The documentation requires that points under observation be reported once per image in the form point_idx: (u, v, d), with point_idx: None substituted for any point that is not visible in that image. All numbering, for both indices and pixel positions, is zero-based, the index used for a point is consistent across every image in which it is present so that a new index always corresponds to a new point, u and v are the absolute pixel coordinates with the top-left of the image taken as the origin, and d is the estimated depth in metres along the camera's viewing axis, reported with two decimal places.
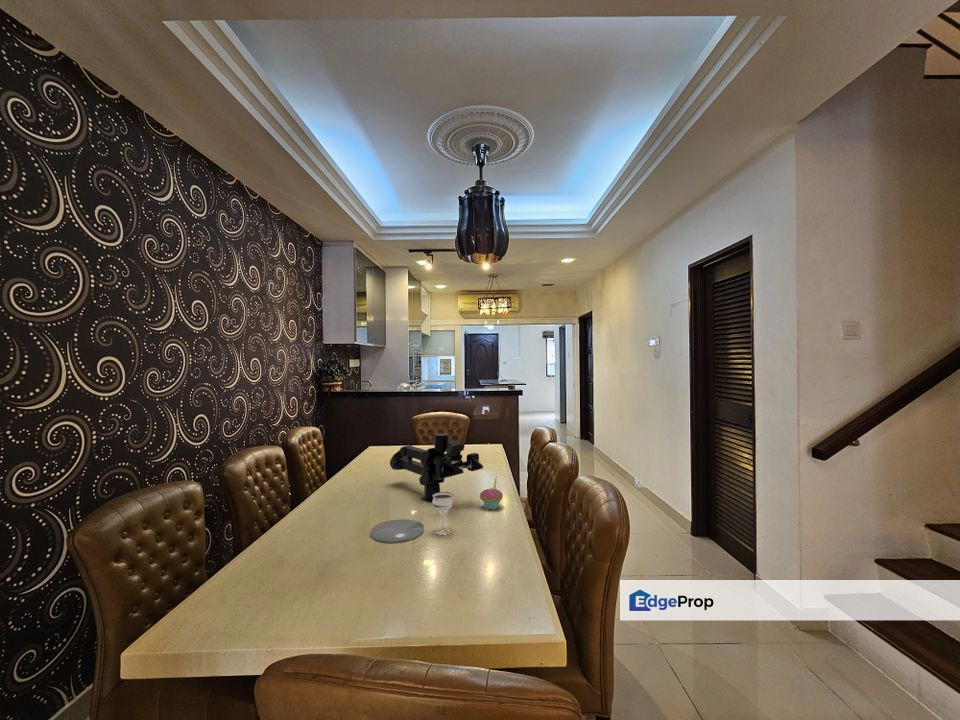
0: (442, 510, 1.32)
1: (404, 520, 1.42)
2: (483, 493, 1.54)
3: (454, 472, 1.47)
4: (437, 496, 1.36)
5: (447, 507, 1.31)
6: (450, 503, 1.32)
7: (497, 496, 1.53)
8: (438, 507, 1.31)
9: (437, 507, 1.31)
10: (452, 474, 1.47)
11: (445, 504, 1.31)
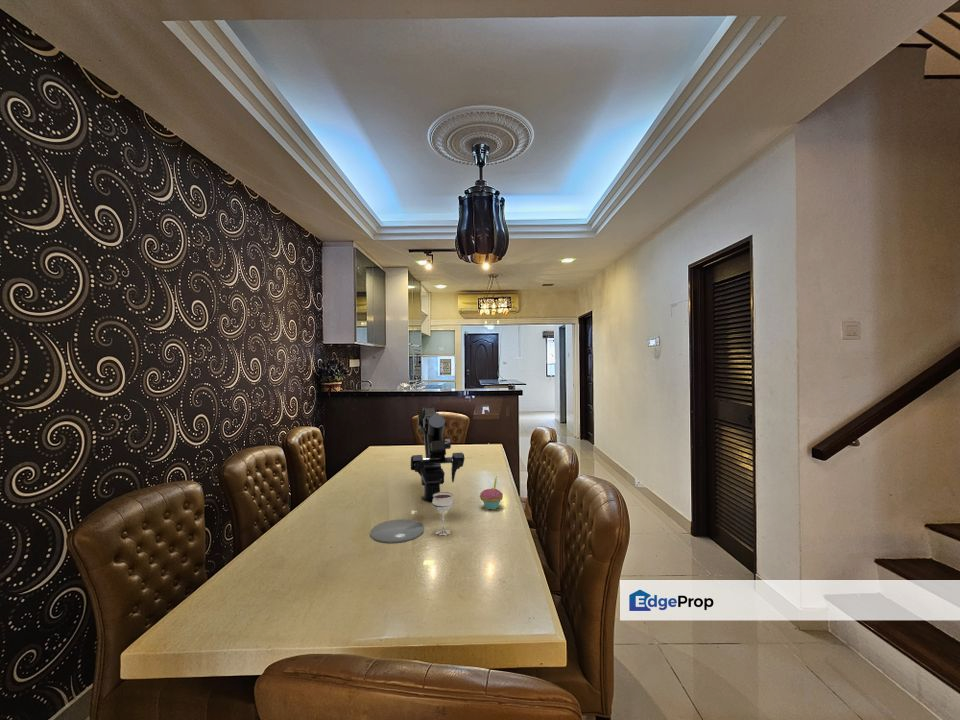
0: (442, 510, 1.32)
1: (404, 520, 1.42)
2: (483, 493, 1.54)
3: (422, 476, 1.44)
4: (437, 496, 1.36)
5: (447, 507, 1.31)
6: (450, 503, 1.32)
7: (497, 496, 1.53)
8: (438, 507, 1.31)
9: (437, 507, 1.31)
10: (420, 475, 1.45)
11: (445, 504, 1.31)
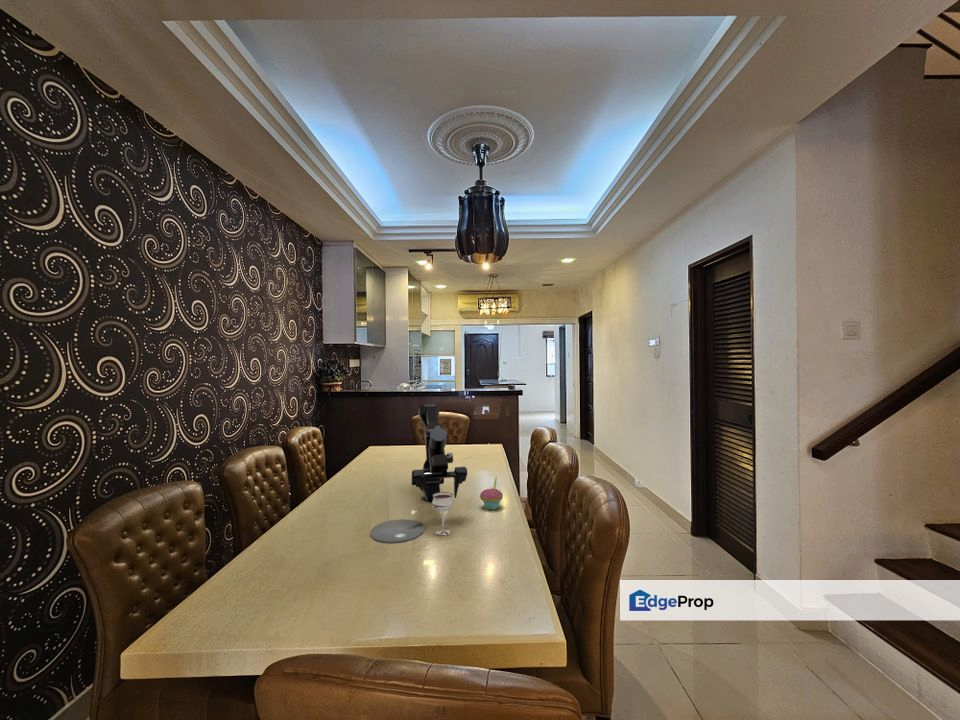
0: (442, 510, 1.32)
1: (404, 520, 1.42)
2: (483, 493, 1.54)
3: (423, 491, 1.38)
4: (437, 496, 1.36)
5: (447, 507, 1.31)
6: (450, 503, 1.32)
7: (497, 496, 1.53)
8: (438, 507, 1.31)
9: (437, 507, 1.31)
10: (422, 490, 1.39)
11: (445, 504, 1.31)
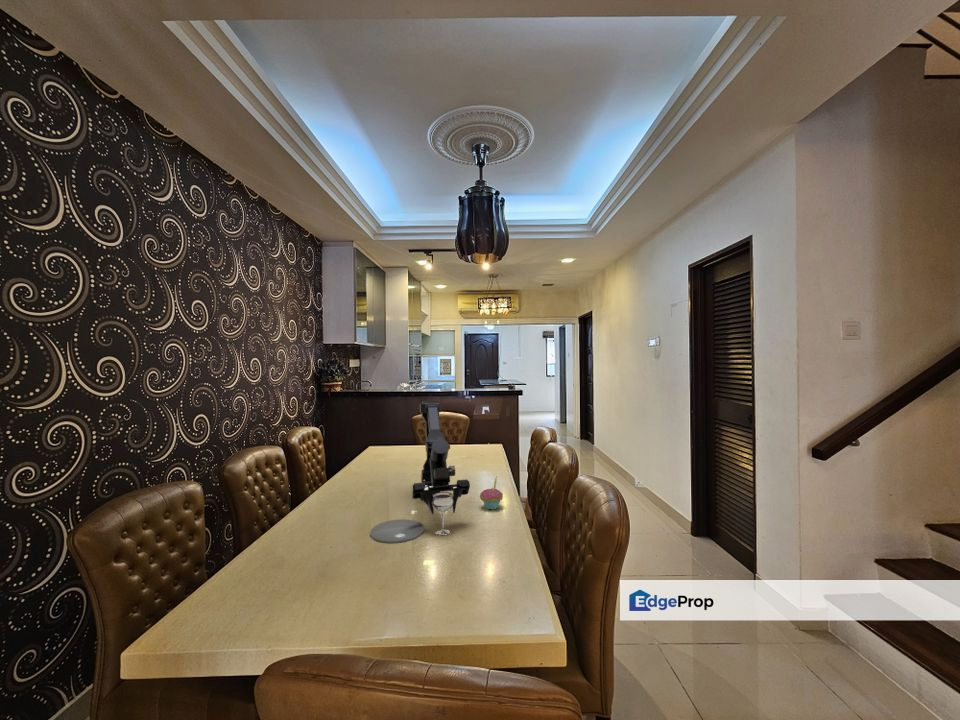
0: (442, 510, 1.32)
1: (404, 520, 1.42)
2: (483, 493, 1.54)
3: (428, 505, 1.35)
4: (437, 496, 1.36)
5: (447, 507, 1.31)
6: (450, 503, 1.32)
7: (497, 496, 1.53)
8: (438, 507, 1.31)
9: (437, 507, 1.31)
10: (427, 504, 1.36)
11: (445, 504, 1.31)
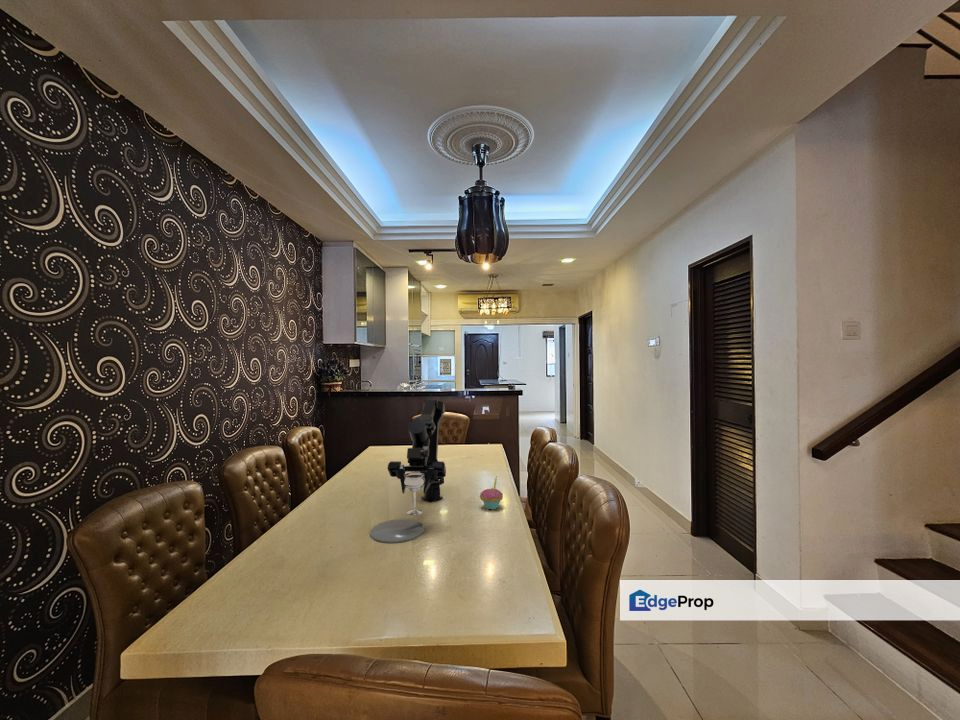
0: (411, 489, 1.32)
1: (404, 520, 1.42)
2: (483, 493, 1.54)
3: None
4: (412, 476, 1.37)
5: (415, 487, 1.31)
6: (419, 483, 1.31)
7: (497, 496, 1.53)
8: (407, 486, 1.31)
9: (406, 486, 1.32)
10: None
11: (413, 484, 1.31)
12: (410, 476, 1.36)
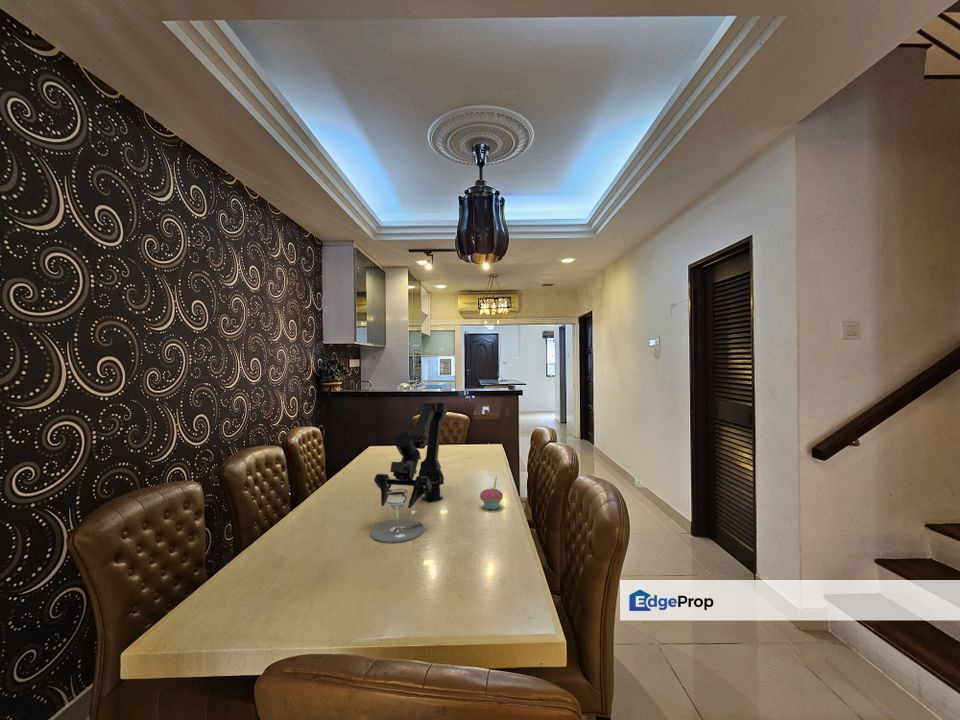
0: (392, 507, 1.33)
1: (404, 520, 1.42)
2: (483, 493, 1.54)
3: None
4: (396, 492, 1.38)
5: (396, 505, 1.32)
6: (399, 501, 1.32)
7: (497, 496, 1.53)
8: (388, 503, 1.33)
9: (388, 503, 1.33)
10: None
11: (393, 501, 1.32)
12: (395, 493, 1.38)
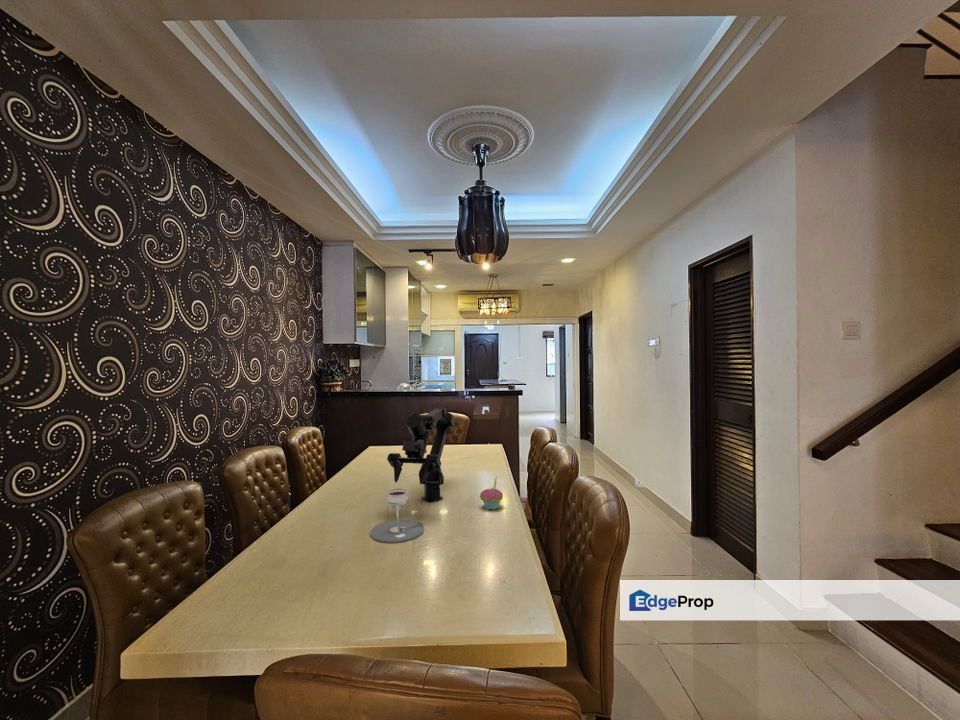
0: (393, 507, 1.33)
1: (404, 520, 1.42)
2: (483, 493, 1.54)
3: None
4: (396, 492, 1.38)
5: (396, 504, 1.32)
6: (400, 501, 1.32)
7: (497, 496, 1.53)
8: (388, 503, 1.33)
9: (388, 503, 1.33)
10: None
11: (394, 501, 1.32)
12: (395, 493, 1.38)
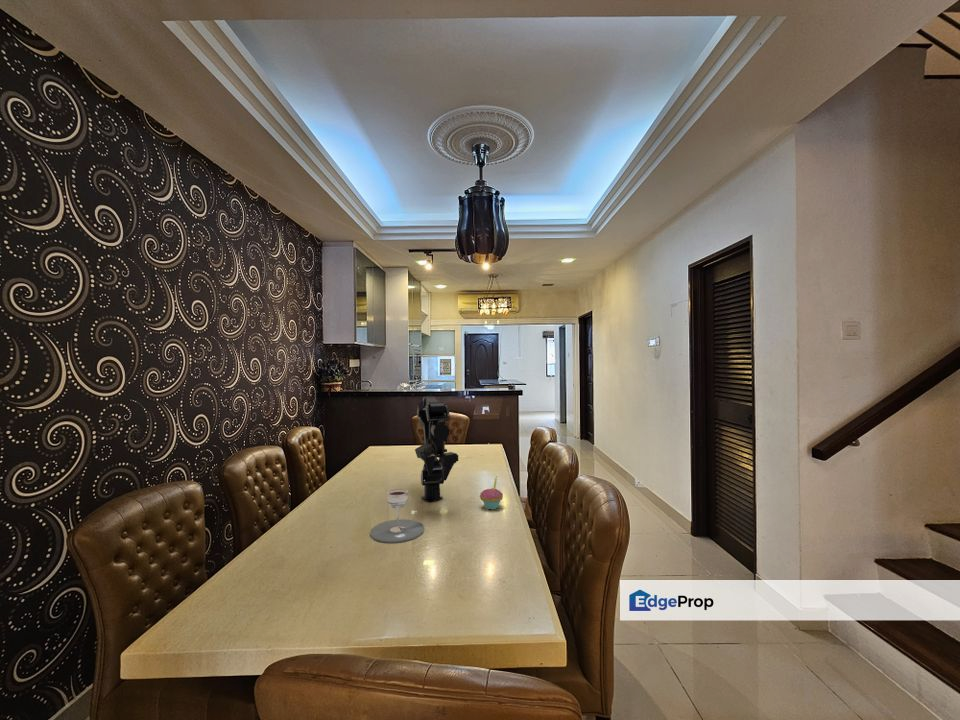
0: (393, 507, 1.33)
1: (404, 520, 1.42)
2: (483, 493, 1.54)
3: None
4: (397, 492, 1.38)
5: (396, 504, 1.32)
6: (400, 501, 1.32)
7: (497, 496, 1.53)
8: (388, 503, 1.33)
9: (388, 503, 1.33)
10: None
11: (394, 501, 1.32)
12: (395, 493, 1.38)
